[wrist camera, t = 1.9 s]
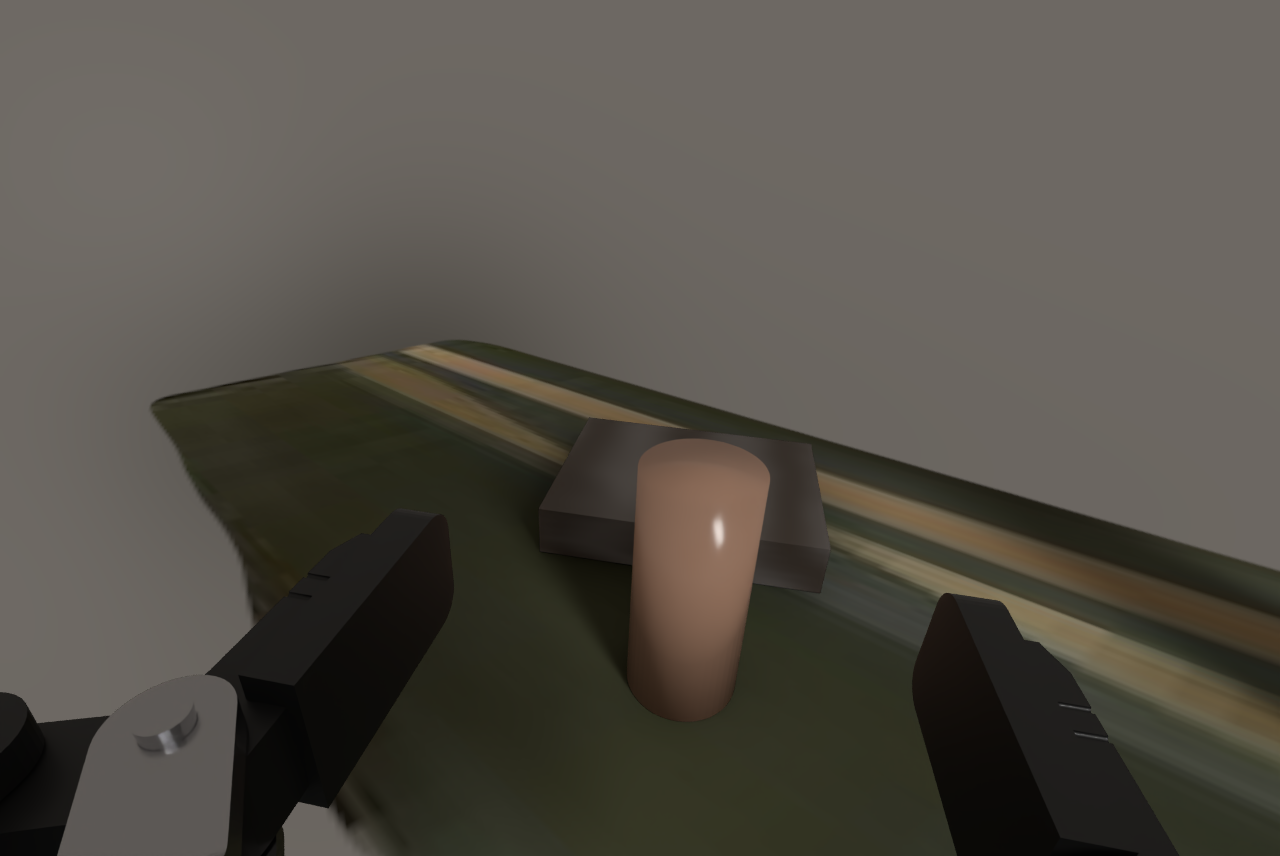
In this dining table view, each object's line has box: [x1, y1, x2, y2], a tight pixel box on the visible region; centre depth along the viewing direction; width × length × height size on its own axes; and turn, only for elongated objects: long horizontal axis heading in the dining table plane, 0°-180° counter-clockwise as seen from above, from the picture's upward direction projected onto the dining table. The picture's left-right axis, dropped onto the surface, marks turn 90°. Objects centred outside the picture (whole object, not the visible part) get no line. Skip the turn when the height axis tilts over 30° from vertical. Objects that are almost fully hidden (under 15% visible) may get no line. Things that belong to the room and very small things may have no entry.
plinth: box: [539, 418, 831, 593], centre depth 39 cm, size 16×12×3 cm
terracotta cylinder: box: [627, 438, 770, 722], centre depth 25 cm, size 5×5×11 cm
